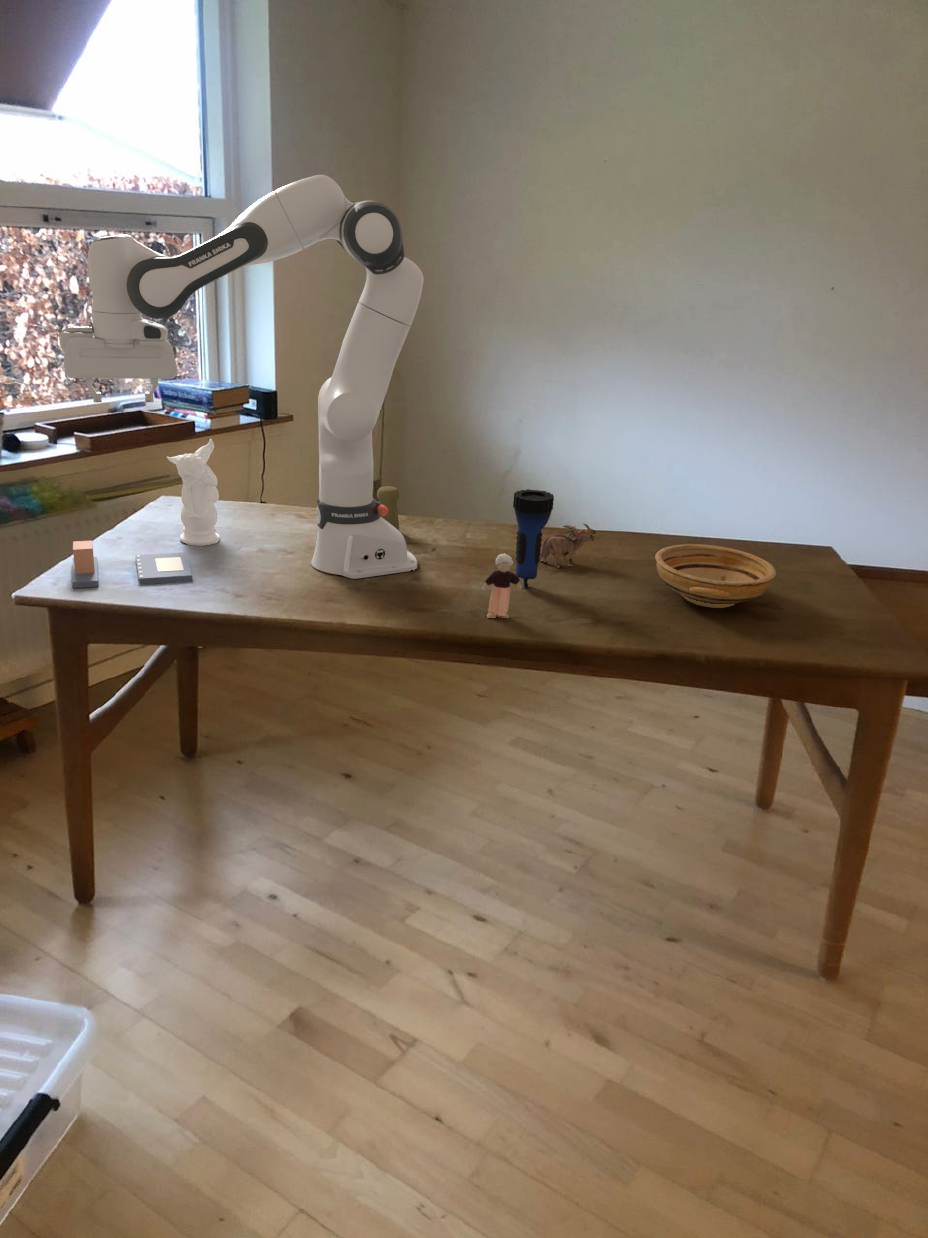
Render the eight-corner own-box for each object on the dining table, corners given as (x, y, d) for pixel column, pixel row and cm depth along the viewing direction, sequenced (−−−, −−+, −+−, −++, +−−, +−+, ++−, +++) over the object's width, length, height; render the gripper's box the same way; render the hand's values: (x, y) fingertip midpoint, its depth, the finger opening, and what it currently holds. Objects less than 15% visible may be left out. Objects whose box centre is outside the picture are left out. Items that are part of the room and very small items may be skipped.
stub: (97, 562, 196) (94, 533, 193) (98, 586, 184) (95, 555, 181) (73, 563, 194) (70, 534, 192) (72, 588, 182) (69, 557, 180)
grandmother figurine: (485, 622, 179) (490, 558, 174) (477, 614, 182) (482, 551, 177) (522, 618, 182) (528, 555, 177) (513, 610, 185) (519, 548, 180)
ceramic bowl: (768, 634, 182) (776, 595, 179) (641, 613, 188) (647, 575, 185) (769, 584, 208) (776, 550, 205) (657, 567, 214) (662, 533, 211)
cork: (395, 537, 223) (397, 491, 219) (371, 534, 224) (372, 488, 220) (402, 530, 228) (404, 485, 224) (378, 527, 229) (379, 482, 225)
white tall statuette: (199, 550, 207) (193, 450, 198) (154, 540, 211) (146, 442, 202) (234, 535, 217) (230, 440, 208) (191, 526, 221) (185, 431, 213)
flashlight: (517, 597, 192) (525, 501, 184) (499, 583, 199) (507, 490, 191) (551, 593, 195) (561, 498, 188) (533, 579, 202) (541, 488, 194)
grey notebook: (185, 557, 202) (185, 551, 201) (192, 580, 190) (192, 574, 189) (135, 560, 198) (135, 554, 198) (139, 584, 186) (138, 578, 186)
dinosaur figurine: (578, 556, 218) (582, 517, 215) (592, 564, 214) (597, 525, 210) (526, 562, 213) (530, 522, 209) (539, 570, 208) (543, 530, 204)
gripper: (57, 327, 172) (65, 405, 177) (175, 330, 179) (179, 404, 184) (58, 323, 177) (65, 398, 183) (172, 326, 184) (176, 398, 190)
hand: (123, 401), depth 184 cm, fingers open, 8 cm apart
